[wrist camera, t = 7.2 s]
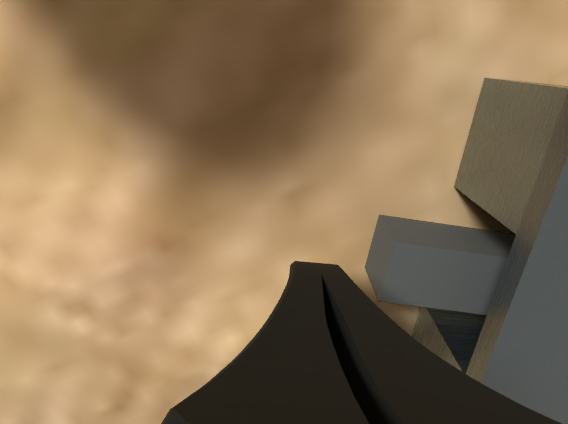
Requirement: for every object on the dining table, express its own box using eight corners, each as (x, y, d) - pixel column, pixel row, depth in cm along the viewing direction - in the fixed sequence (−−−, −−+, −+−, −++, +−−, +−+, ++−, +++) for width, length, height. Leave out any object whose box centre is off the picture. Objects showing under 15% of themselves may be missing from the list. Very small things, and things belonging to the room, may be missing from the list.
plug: (361, 277, 15) (380, 329, 12) (382, 201, 14) (408, 239, 11) (636, 314, 16) (712, 370, 13) (679, 245, 14) (774, 290, 12)
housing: (515, 378, 17) (592, 485, 13) (402, 370, 17) (443, 477, 12) (637, 93, 12) (820, 115, 8) (484, 77, 12) (592, 91, 8)
